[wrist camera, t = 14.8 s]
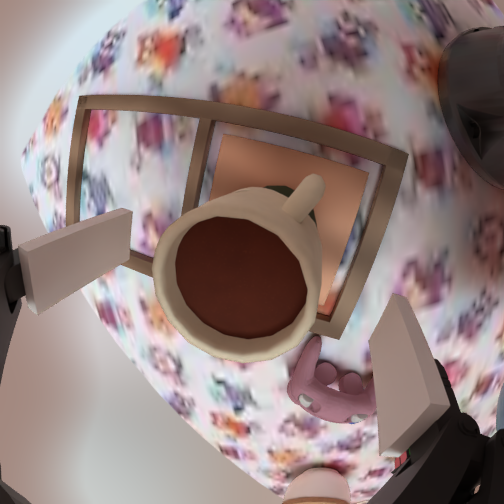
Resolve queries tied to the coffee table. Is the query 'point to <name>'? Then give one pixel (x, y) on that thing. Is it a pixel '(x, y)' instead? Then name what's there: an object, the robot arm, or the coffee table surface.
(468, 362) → the coffee table surface
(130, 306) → the coffee table surface
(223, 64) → the coffee table surface
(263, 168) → the rail frame
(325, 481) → the lidded jar
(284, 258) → the character mug
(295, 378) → the video game controller
